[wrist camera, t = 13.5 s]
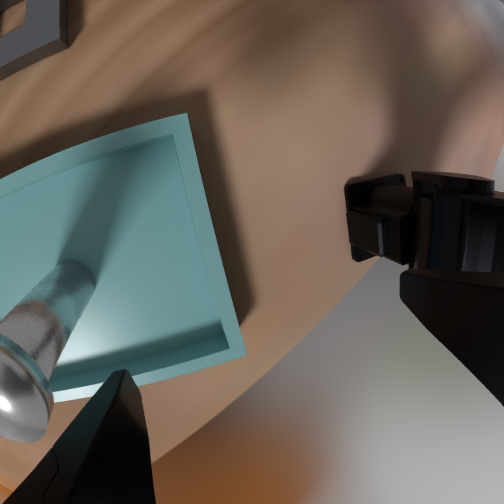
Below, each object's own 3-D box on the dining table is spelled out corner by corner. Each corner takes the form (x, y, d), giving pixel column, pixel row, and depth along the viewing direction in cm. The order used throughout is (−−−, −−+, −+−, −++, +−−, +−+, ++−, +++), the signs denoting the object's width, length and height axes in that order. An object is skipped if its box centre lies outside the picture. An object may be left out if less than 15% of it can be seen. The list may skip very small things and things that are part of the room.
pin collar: (68, -39, 11) (63, -52, 9) (67, 48, 14) (59, 38, 12) (-30, 12, 9) (-40, 5, 7) (-38, 105, 12) (-51, 101, 10)
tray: (183, 121, 18) (186, 112, 15) (236, 334, 23) (246, 355, 20) (-49, 214, 14) (-70, 221, 11) (27, 385, 19) (17, 407, 16)
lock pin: (74, 237, 17) (-29, 322, 6) (116, 289, 18) (69, 421, 7) (34, 276, 16) (-62, 375, 5) (74, 323, 18) (16, 452, 7)
